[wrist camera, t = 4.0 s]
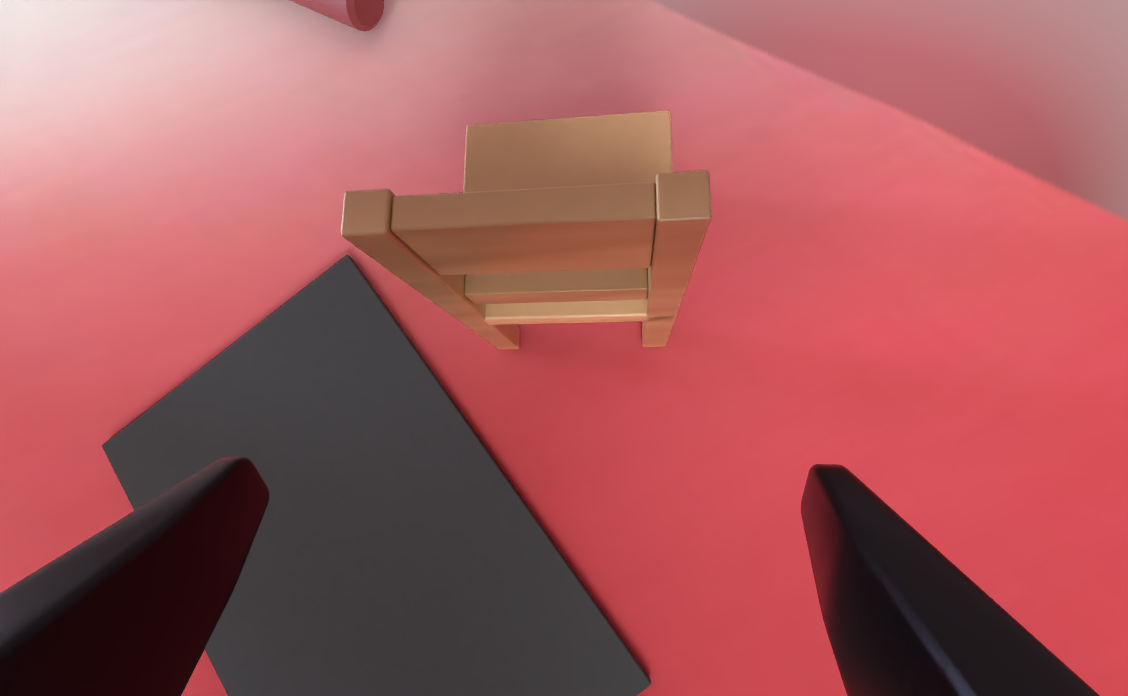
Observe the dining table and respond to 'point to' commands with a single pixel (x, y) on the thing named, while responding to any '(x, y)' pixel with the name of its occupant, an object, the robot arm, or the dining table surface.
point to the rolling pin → (348, 11)
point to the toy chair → (548, 227)
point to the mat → (370, 521)
